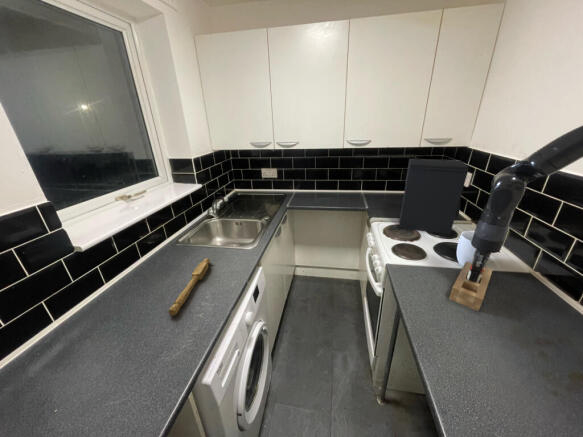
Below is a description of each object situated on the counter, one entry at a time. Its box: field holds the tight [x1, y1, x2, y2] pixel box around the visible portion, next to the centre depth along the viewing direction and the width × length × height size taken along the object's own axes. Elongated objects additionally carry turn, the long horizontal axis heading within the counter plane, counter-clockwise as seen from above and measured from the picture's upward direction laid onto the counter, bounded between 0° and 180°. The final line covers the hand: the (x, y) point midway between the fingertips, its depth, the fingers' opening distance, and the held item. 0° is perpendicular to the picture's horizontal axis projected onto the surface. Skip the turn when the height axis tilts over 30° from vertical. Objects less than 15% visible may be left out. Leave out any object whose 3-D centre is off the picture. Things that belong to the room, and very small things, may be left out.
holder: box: [448, 261, 493, 312], centre depth 81 cm, size 8×20×5 cm, turn 135°
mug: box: [456, 230, 493, 267], centre depth 93 cm, size 15×11×13 cm
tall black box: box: [398, 157, 469, 236], centre depth 122 cm, size 28×20×35 cm
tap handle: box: [167, 258, 211, 316], centre depth 89 cm, size 3×3×30 cm
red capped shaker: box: [467, 265, 484, 283], centre depth 80 cm, size 3×3×9 cm
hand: (473, 277), depth 80 cm, fingers closed on red capped shaker, 3 cm apart
